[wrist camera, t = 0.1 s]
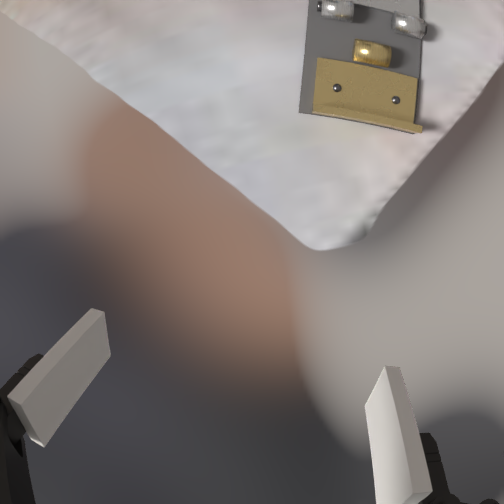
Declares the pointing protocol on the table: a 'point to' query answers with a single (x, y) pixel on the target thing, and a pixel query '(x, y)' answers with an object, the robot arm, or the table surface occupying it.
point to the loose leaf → (366, 89)
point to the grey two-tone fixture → (341, 46)
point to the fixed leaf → (397, 3)
